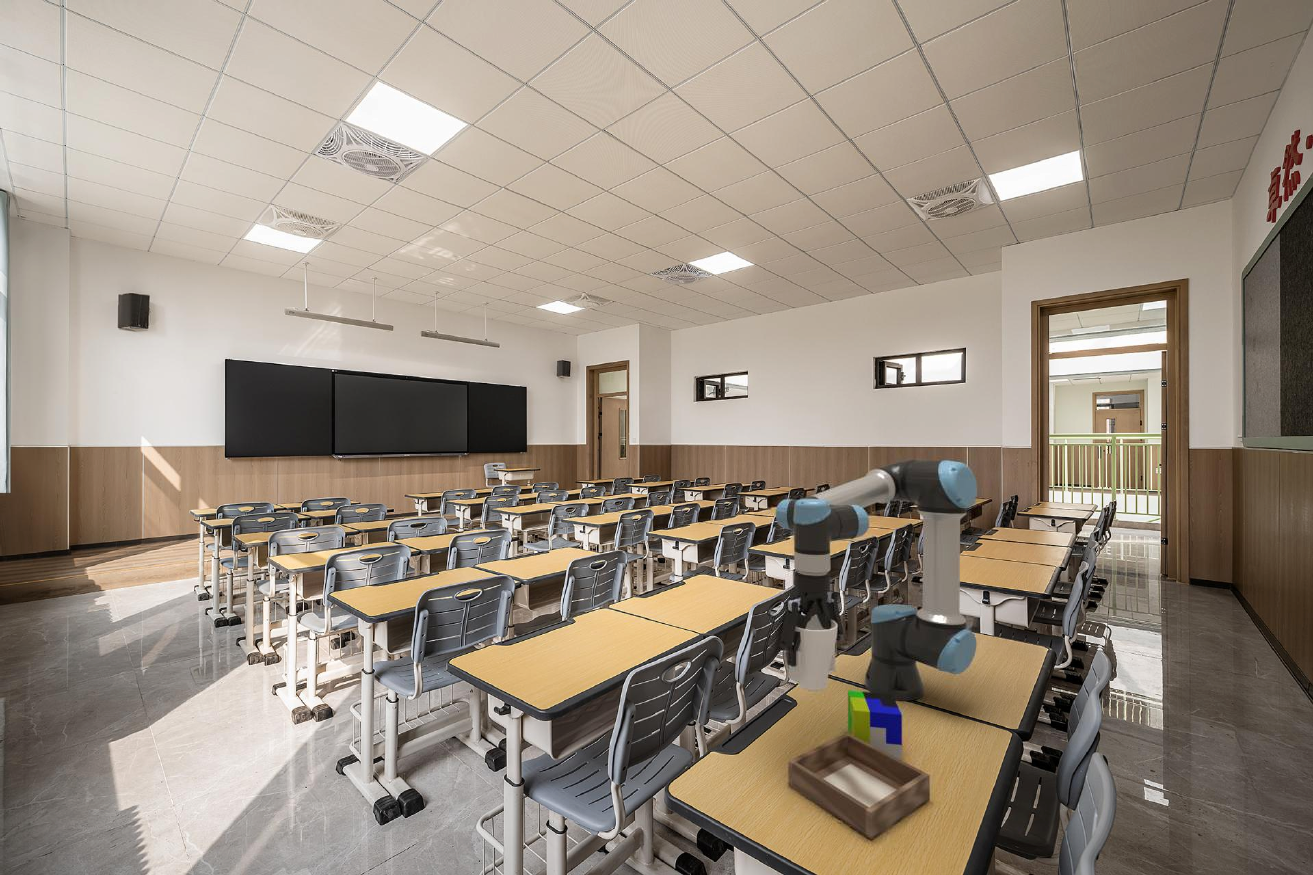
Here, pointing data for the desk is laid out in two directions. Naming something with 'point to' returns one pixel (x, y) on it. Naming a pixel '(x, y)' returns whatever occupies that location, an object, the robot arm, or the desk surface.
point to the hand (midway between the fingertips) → (812, 674)
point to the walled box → (859, 784)
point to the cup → (816, 653)
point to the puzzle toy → (876, 721)
